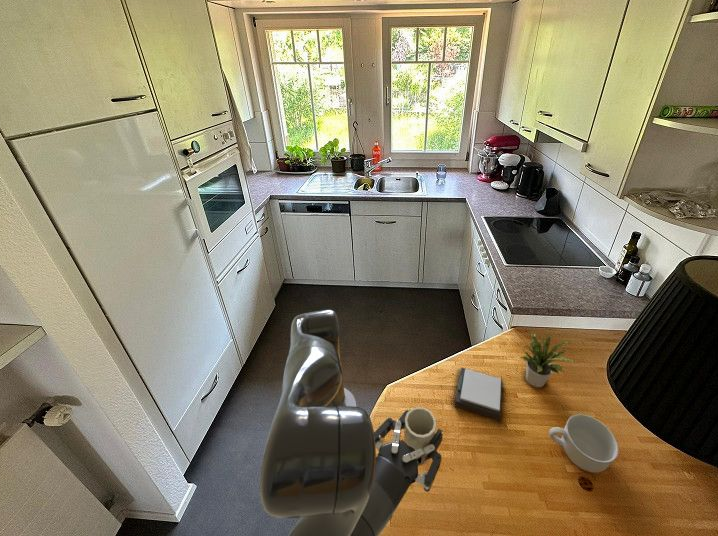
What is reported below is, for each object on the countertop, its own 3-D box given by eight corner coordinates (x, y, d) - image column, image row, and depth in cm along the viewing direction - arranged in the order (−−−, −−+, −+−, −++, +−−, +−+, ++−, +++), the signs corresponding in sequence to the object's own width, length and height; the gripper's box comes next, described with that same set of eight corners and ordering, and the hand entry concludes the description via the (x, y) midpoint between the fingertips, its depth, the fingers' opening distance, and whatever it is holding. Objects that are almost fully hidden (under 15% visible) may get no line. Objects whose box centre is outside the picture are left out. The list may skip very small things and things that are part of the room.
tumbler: (399, 459, 68) (401, 430, 63) (408, 430, 73) (410, 402, 68) (428, 470, 66) (432, 442, 61) (435, 440, 71) (439, 412, 66)
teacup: (604, 443, 81) (615, 424, 78) (611, 489, 73) (623, 470, 69) (544, 421, 87) (551, 402, 83) (543, 461, 78) (551, 441, 74)
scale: (454, 406, 90) (455, 399, 89) (460, 372, 100) (461, 365, 99) (499, 420, 87) (501, 413, 85) (501, 384, 97) (502, 376, 95)
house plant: (573, 381, 97) (589, 342, 90) (555, 412, 89) (571, 371, 81) (526, 355, 106) (537, 317, 99) (506, 380, 98) (517, 341, 90)
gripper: (411, 516, 51) (458, 431, 62) (344, 457, 58) (398, 391, 70) (409, 537, 54) (454, 453, 66) (347, 478, 62) (397, 412, 73)
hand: (425, 421), depth 68 cm, fingers closed on tumbler, 6 cm apart
